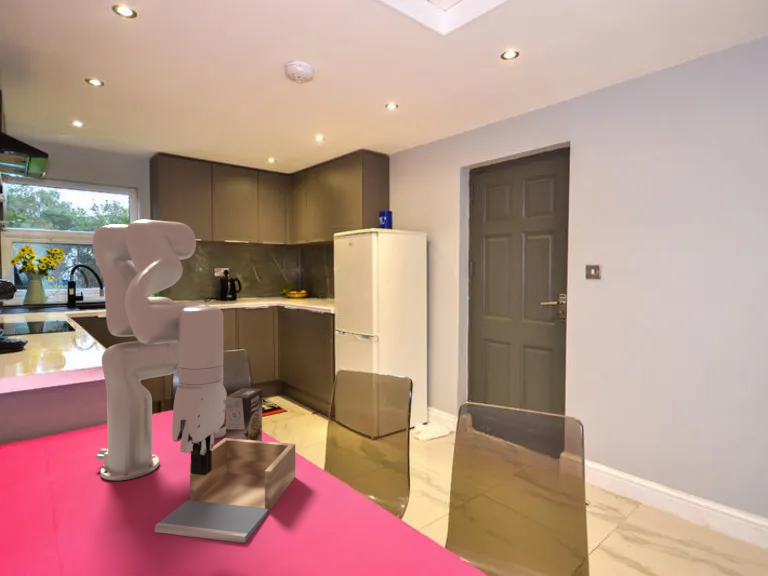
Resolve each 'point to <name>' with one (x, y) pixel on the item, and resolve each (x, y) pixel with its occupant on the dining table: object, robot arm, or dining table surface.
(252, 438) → the coffee box
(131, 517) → the dining table surface
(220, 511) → the panel
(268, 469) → the crate
